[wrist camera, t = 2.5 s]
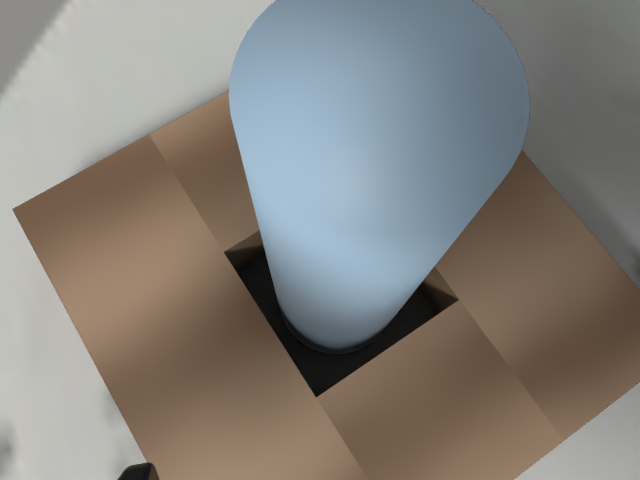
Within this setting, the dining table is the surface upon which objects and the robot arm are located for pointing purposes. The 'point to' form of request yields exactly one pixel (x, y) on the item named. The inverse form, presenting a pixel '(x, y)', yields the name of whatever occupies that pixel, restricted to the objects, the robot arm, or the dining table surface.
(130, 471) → the robot arm
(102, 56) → the dining table surface
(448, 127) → the peg
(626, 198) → the dining table surface
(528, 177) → the pocket block
